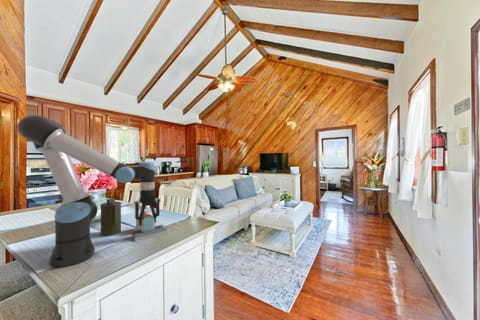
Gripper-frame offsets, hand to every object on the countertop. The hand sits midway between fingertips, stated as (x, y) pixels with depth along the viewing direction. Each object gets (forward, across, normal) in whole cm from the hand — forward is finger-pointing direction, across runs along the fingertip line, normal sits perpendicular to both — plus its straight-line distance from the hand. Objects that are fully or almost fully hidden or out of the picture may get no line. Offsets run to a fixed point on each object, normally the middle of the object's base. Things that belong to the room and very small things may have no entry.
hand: (147, 229), depth 112 cm
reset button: (-4, +2, +11) cm, 12 cm away
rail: (+3, +1, 0) cm, 3 cm away
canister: (+3, -15, +18) cm, 24 cm away
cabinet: (+3, +2, +11) cm, 12 cm away
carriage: (+2, 0, 0) cm, 2 cm away
